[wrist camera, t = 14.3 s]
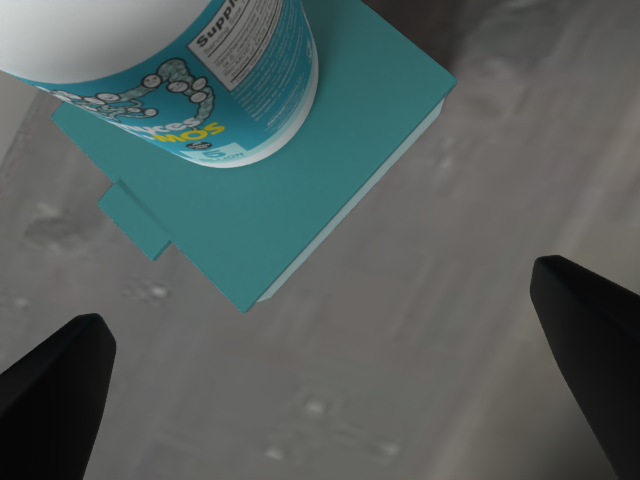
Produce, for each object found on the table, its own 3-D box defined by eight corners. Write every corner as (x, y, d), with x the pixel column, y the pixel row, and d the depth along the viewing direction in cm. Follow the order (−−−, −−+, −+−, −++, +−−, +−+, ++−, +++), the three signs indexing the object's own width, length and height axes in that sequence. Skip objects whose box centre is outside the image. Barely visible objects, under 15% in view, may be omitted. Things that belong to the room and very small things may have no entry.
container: (253, 321, 22) (222, 335, 18) (92, 158, 24) (32, 137, 20) (446, 114, 21) (458, 79, 17) (261, -41, 23) (234, -105, 19)
